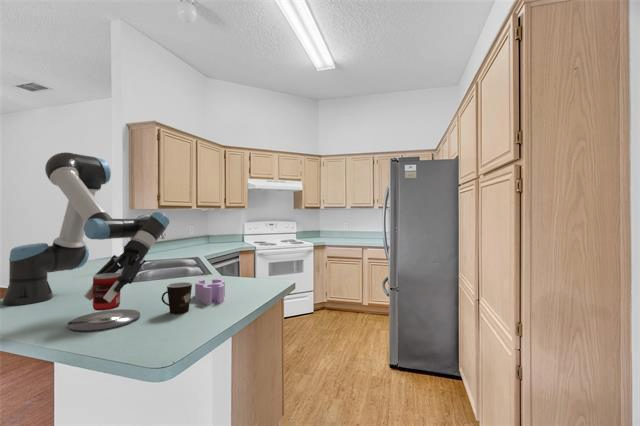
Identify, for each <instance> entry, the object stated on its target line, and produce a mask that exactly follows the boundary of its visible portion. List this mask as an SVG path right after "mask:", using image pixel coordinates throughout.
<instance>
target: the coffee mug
mask: <svg viewBox="0 0 640 426" xmlns="http://www.w3.org/2000/svg"><path fill="white" fill-rule="evenodd" d="M192 287H193V283H192V282H188V281H187V282H183V281H182V282H173V283H169V284H167V285H166V291H164V292H163V293H162V294H161V302H162V303H164V305H166V306H168V308H169V313H170V315H182V314H186V313H188V312H189V311H190V303H191V295H192ZM166 294H167V299H168V302H166V301H165V298H164V297H165V296H166Z"/></svg>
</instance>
